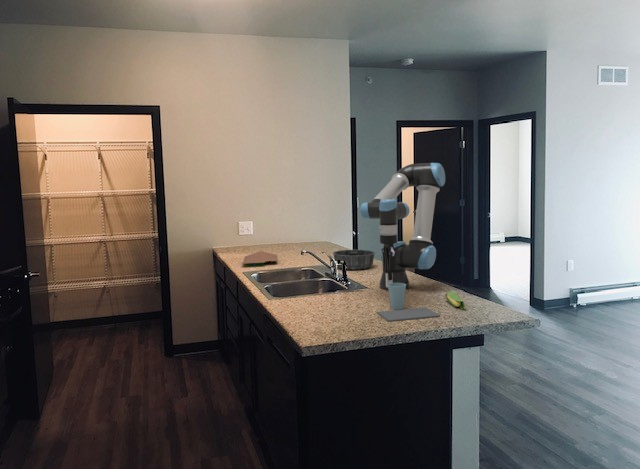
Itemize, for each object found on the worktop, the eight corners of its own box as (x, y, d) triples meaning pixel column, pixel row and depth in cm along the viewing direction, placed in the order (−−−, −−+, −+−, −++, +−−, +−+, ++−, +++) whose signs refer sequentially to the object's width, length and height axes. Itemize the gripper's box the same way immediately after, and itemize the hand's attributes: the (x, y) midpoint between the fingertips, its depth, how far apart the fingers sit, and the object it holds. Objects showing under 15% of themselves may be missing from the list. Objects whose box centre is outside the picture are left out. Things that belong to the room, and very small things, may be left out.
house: (277, 259, 384) (277, 247, 383) (278, 266, 351) (277, 254, 350) (245, 260, 382) (244, 249, 381) (242, 268, 349) (242, 255, 348)
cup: (388, 310, 228) (387, 286, 227) (388, 306, 236) (387, 282, 235) (406, 310, 227) (406, 286, 226) (405, 306, 235) (405, 282, 234)
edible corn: (456, 290, 243) (446, 288, 243) (468, 302, 223) (457, 299, 223) (452, 301, 244) (443, 299, 244) (464, 314, 224) (454, 311, 224)
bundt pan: (375, 264, 347) (375, 248, 346) (375, 271, 321) (375, 255, 320) (334, 264, 349) (334, 249, 348) (331, 272, 323) (331, 255, 322)
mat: (376, 313, 224) (376, 311, 224) (425, 308, 229) (425, 307, 229) (388, 321, 211) (388, 320, 211) (440, 316, 216) (440, 315, 215)
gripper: (375, 233, 243) (376, 284, 245) (385, 236, 230) (386, 290, 233) (391, 232, 245) (392, 283, 247) (401, 235, 232) (402, 289, 234)
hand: (389, 286), depth 240 cm, fingers closed
